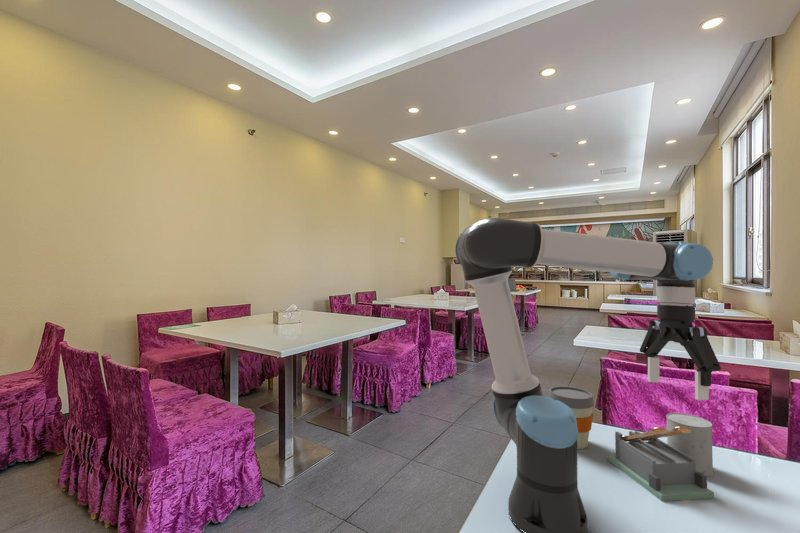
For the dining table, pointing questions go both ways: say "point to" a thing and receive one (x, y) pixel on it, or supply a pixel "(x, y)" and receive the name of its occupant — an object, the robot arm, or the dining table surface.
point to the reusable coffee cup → (577, 409)
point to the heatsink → (660, 468)
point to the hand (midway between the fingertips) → (675, 390)
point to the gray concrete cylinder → (693, 440)
